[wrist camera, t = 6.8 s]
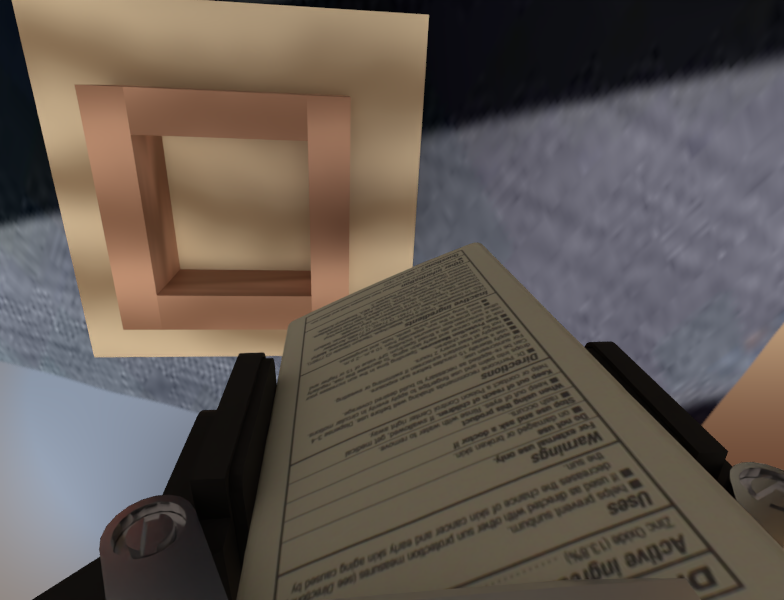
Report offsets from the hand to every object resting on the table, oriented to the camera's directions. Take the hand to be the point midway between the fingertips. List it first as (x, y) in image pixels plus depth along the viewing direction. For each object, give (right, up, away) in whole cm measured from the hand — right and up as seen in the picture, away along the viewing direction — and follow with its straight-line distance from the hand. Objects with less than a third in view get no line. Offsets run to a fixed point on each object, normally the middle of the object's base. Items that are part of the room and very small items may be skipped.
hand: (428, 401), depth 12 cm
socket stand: (-10, +8, +17) cm, 21 cm away
